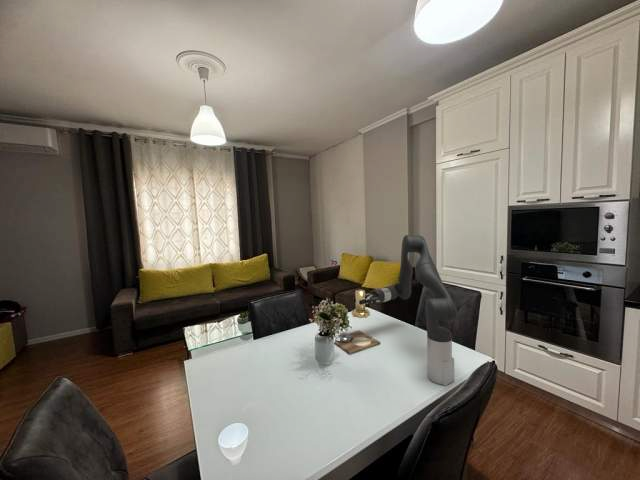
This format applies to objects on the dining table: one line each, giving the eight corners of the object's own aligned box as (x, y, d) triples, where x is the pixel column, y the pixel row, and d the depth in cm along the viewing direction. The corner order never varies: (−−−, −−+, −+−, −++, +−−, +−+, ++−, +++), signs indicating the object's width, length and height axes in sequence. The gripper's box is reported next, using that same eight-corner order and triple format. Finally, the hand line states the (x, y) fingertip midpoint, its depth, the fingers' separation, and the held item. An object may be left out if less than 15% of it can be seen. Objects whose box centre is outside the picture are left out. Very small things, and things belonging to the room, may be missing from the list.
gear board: (380, 344, 137) (380, 341, 137) (349, 354, 127) (349, 352, 127) (359, 332, 152) (359, 330, 152) (330, 340, 143) (330, 338, 142)
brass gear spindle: (373, 315, 135) (373, 291, 134) (359, 319, 131) (358, 294, 130) (362, 310, 144) (361, 287, 143) (348, 314, 139) (347, 290, 138)
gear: (355, 340, 139) (355, 334, 139) (342, 345, 134) (341, 338, 134) (345, 334, 147) (345, 328, 147) (332, 338, 143) (332, 331, 143)
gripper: (372, 286, 149) (348, 291, 141) (389, 291, 137) (364, 297, 129) (372, 299, 150) (348, 304, 142) (390, 305, 137) (365, 312, 129)
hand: (356, 301), depth 135 cm, fingers closed on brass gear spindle, 5 cm apart
